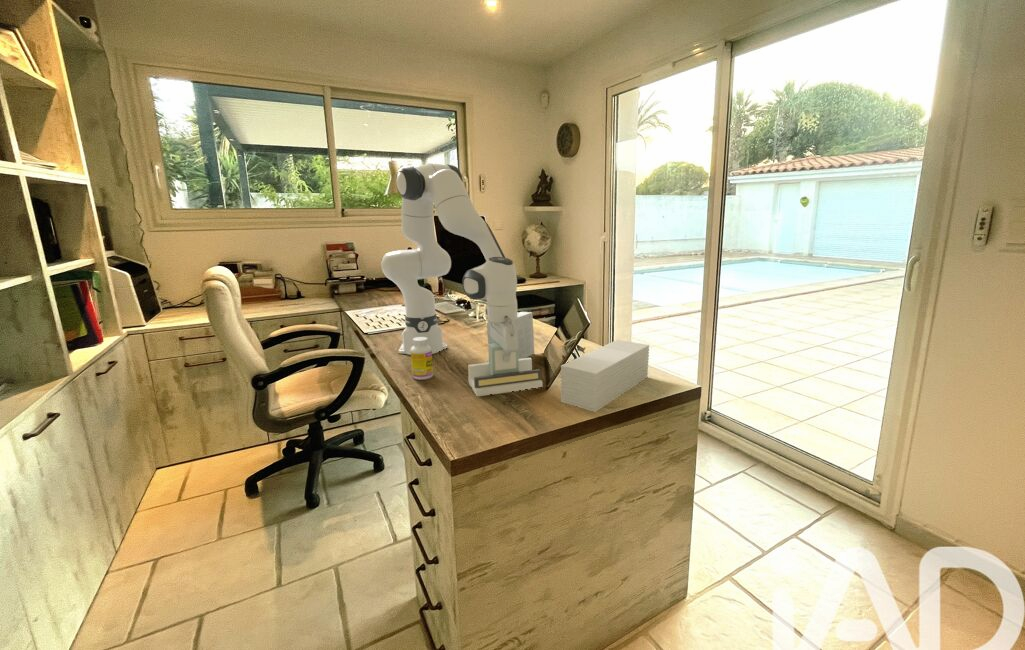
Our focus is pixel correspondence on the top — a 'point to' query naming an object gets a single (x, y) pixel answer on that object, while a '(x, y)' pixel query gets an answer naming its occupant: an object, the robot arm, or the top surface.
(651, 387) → the top surface
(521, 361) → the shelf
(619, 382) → the stack of papers
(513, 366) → the product box
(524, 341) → the skincare box
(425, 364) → the supplement bottle
